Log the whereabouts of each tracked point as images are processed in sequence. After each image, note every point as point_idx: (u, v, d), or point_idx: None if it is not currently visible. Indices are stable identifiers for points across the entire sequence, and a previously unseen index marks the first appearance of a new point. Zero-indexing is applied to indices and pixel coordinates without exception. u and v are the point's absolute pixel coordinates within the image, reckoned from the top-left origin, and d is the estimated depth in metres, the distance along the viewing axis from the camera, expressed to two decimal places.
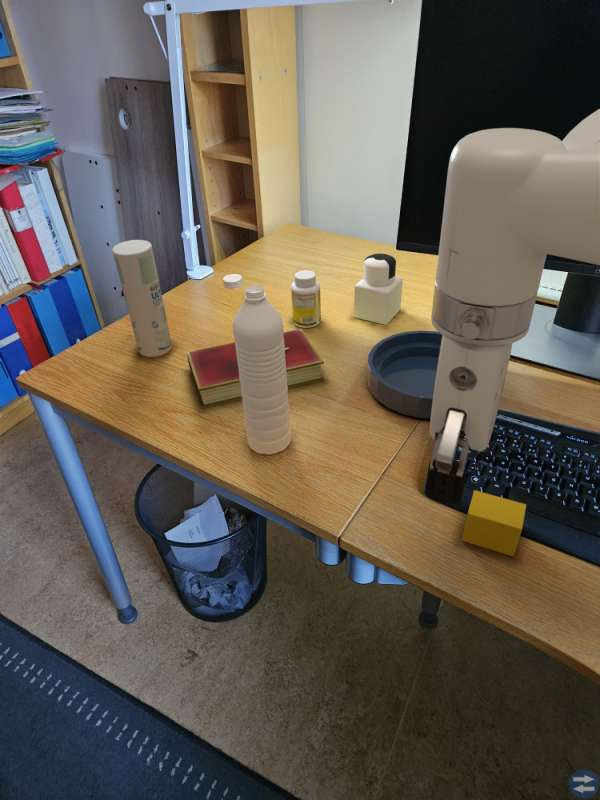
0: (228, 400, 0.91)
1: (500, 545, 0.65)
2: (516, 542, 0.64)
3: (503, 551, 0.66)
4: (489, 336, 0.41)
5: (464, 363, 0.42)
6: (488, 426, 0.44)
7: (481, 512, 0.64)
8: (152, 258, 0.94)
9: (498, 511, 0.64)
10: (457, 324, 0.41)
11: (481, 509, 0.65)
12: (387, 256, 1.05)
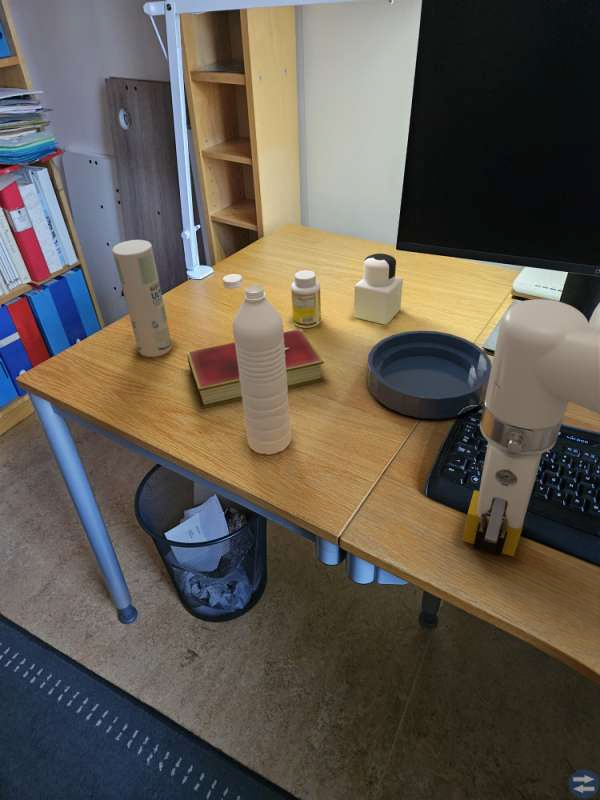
0: (228, 400, 0.91)
1: None
2: (516, 542, 0.64)
3: (503, 551, 0.66)
4: (527, 449, 0.54)
5: (508, 467, 0.55)
6: (524, 512, 0.57)
7: None
8: (152, 258, 0.94)
9: None
10: (503, 439, 0.54)
11: None
12: (387, 256, 1.05)
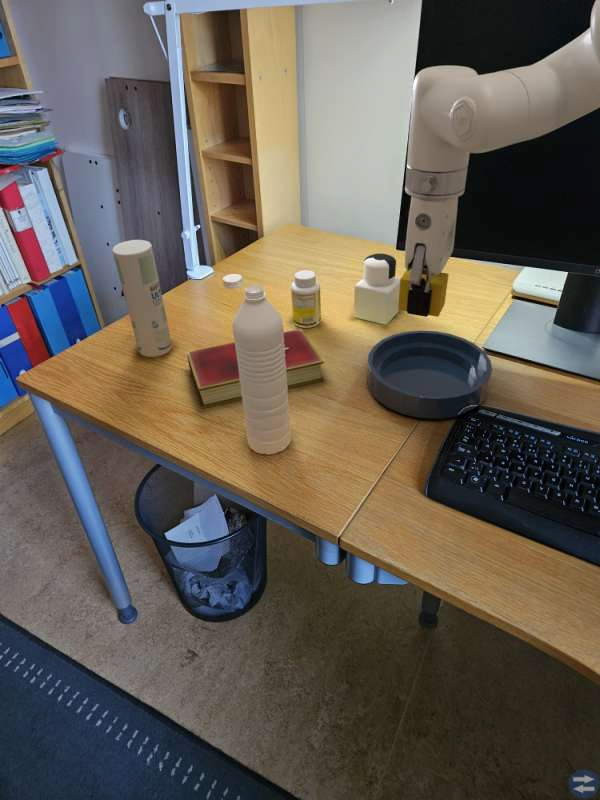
0: (228, 400, 0.91)
1: None
2: (439, 300, 0.79)
3: (430, 313, 0.80)
4: (438, 192, 0.69)
5: (424, 210, 0.70)
6: (439, 254, 0.72)
7: None
8: (152, 258, 0.94)
9: (425, 277, 0.79)
10: (419, 186, 0.69)
11: None
12: (387, 256, 1.05)
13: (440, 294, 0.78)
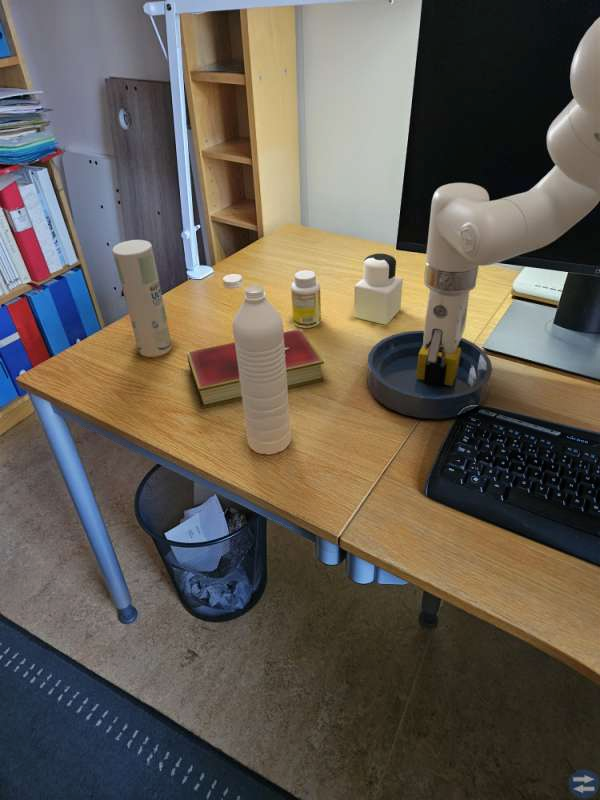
0: (228, 400, 0.91)
1: None
2: (453, 373, 0.89)
3: (444, 382, 0.91)
4: (453, 288, 0.79)
5: (441, 303, 0.80)
6: (454, 338, 0.83)
7: None
8: (152, 258, 0.94)
9: (440, 352, 0.90)
10: (437, 282, 0.80)
11: None
12: (387, 256, 1.05)
13: (454, 368, 0.89)
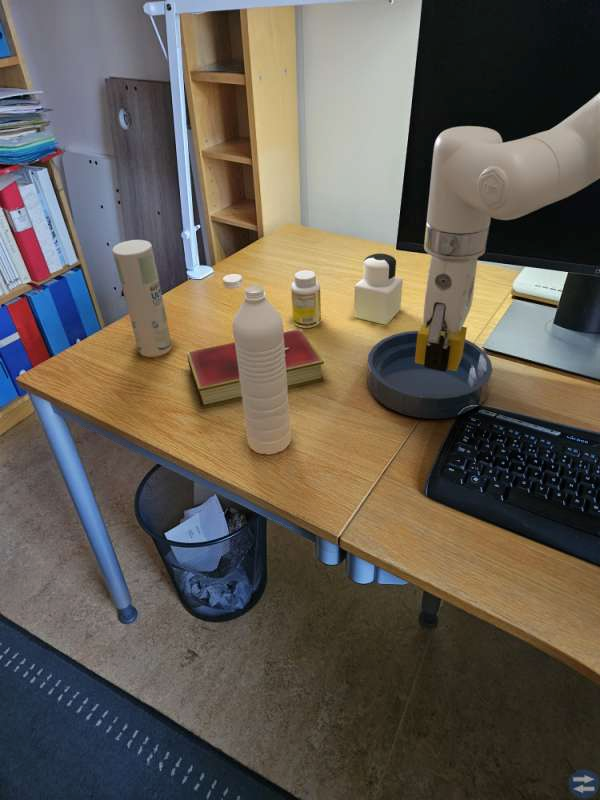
0: (228, 400, 0.91)
1: None
2: (457, 356, 0.77)
3: (448, 367, 0.79)
4: (459, 253, 0.67)
5: (444, 271, 0.68)
6: (459, 314, 0.70)
7: None
8: (152, 258, 0.94)
9: (443, 331, 0.77)
10: (439, 246, 0.67)
11: None
12: (387, 256, 1.05)
13: (458, 350, 0.76)
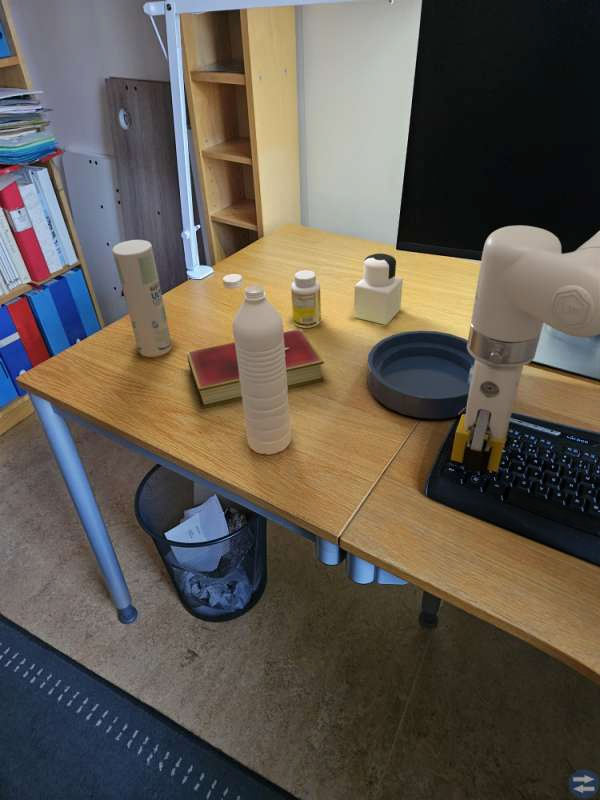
0: (228, 400, 0.91)
1: None
2: (499, 457, 0.71)
3: (488, 467, 0.72)
4: (508, 361, 0.61)
5: (491, 379, 0.62)
6: (506, 422, 0.64)
7: (468, 431, 0.71)
8: (152, 258, 0.94)
9: None
10: (486, 353, 0.61)
11: None
12: (387, 256, 1.05)
13: (501, 451, 0.70)
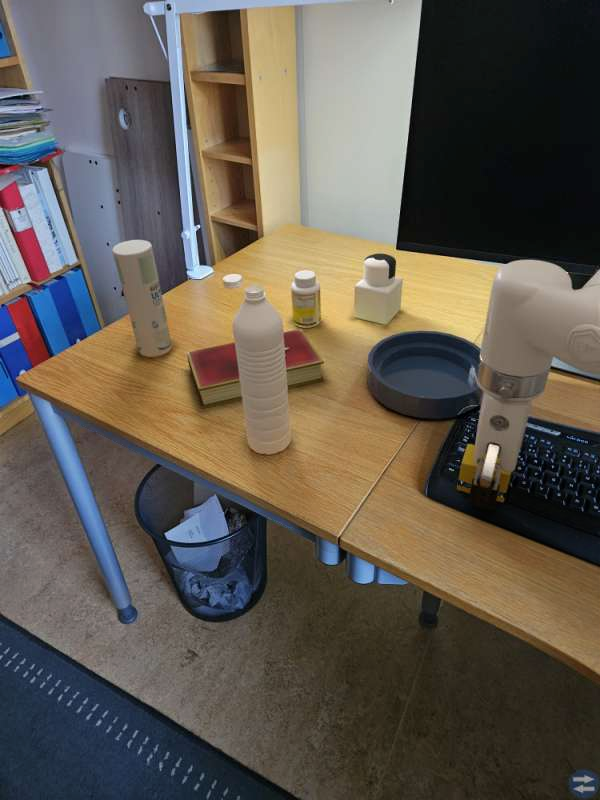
0: (228, 400, 0.91)
1: None
2: (505, 488, 0.70)
3: None
4: (518, 395, 0.60)
5: (501, 413, 0.61)
6: (516, 455, 0.63)
7: (474, 462, 0.71)
8: (152, 258, 0.94)
9: None
10: (496, 387, 0.60)
11: (473, 459, 0.71)
12: (387, 256, 1.05)
13: (507, 483, 0.70)
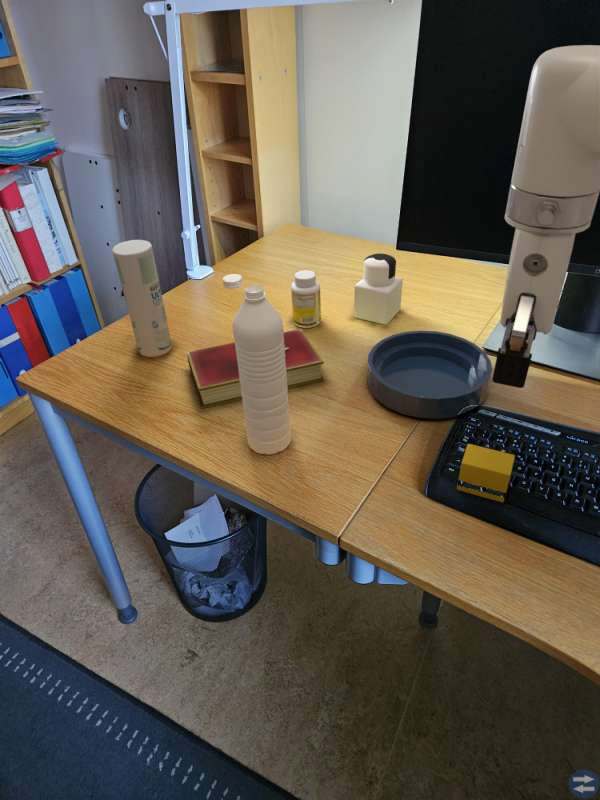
0: (228, 400, 0.91)
1: None
2: (505, 488, 0.70)
3: (494, 498, 0.72)
4: (560, 225, 0.49)
5: (537, 250, 0.50)
6: (554, 308, 0.52)
7: (474, 462, 0.71)
8: (152, 258, 0.94)
9: (489, 461, 0.71)
10: (532, 216, 0.49)
11: (473, 459, 0.71)
12: (387, 256, 1.05)
13: (507, 483, 0.70)
